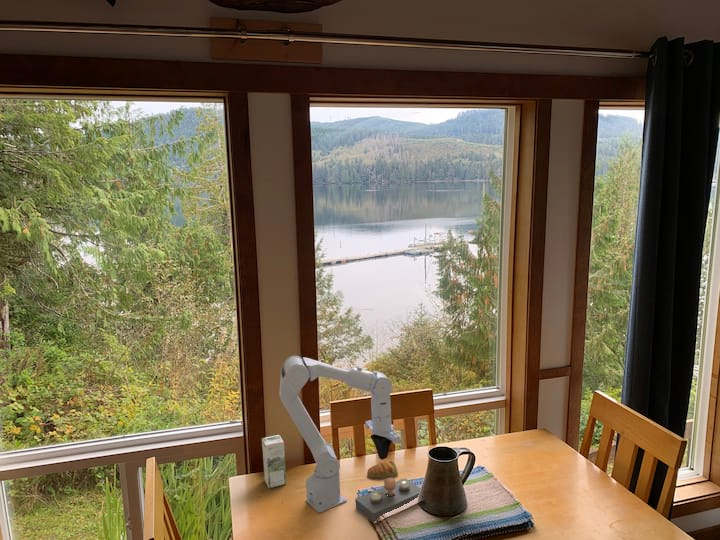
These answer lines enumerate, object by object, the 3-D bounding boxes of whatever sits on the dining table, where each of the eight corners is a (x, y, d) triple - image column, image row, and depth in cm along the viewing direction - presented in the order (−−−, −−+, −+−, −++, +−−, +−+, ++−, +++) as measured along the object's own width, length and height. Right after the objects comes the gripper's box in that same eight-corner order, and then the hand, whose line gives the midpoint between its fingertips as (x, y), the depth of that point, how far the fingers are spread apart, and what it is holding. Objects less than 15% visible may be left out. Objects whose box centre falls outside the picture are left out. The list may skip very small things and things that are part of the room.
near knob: (375, 514, 147) (374, 498, 146) (368, 508, 150) (367, 493, 149) (384, 509, 149) (383, 494, 148) (377, 504, 151) (377, 489, 151)
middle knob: (389, 500, 150) (388, 484, 149) (382, 495, 152) (381, 480, 152) (398, 496, 151) (397, 481, 151) (391, 491, 154) (390, 476, 153)
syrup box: (281, 476, 171) (278, 433, 169) (286, 485, 165) (283, 440, 163) (264, 480, 168) (261, 437, 167) (268, 489, 163) (265, 444, 161)
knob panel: (374, 523, 143) (373, 513, 143) (355, 508, 151) (355, 498, 150) (425, 500, 153) (424, 490, 153) (405, 487, 161) (405, 478, 160)
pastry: (371, 482, 165) (371, 471, 164) (364, 472, 171) (363, 461, 171) (399, 476, 168) (399, 465, 167) (391, 466, 174) (390, 455, 174)
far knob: (403, 501, 153) (402, 486, 152) (396, 496, 155) (396, 481, 155) (412, 497, 154) (411, 482, 154) (405, 492, 157) (404, 477, 156)
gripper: (407, 418, 153) (409, 463, 154) (377, 403, 165) (379, 445, 166) (387, 424, 149) (389, 470, 150) (358, 409, 161) (360, 452, 162)
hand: (383, 457), depth 158 cm, fingers closed
